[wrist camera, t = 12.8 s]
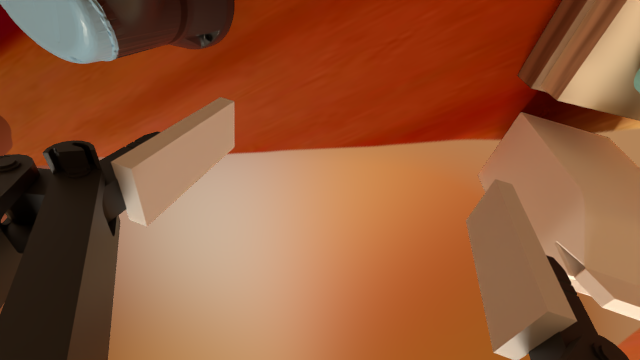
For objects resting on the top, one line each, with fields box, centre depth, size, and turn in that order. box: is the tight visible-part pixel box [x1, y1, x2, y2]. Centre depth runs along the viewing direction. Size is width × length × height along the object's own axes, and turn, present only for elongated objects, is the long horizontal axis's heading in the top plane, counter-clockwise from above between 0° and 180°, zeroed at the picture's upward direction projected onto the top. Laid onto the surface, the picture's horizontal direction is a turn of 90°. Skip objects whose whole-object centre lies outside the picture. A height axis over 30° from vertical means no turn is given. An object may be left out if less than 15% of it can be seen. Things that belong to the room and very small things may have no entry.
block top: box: [540, 0, 640, 121], centre depth 28 cm, size 10×10×5 cm
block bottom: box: [517, 0, 595, 93], centre depth 32 cm, size 11×11×6 cm
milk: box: [478, 112, 640, 320], centre depth 33 cm, size 12×12×26 cm
